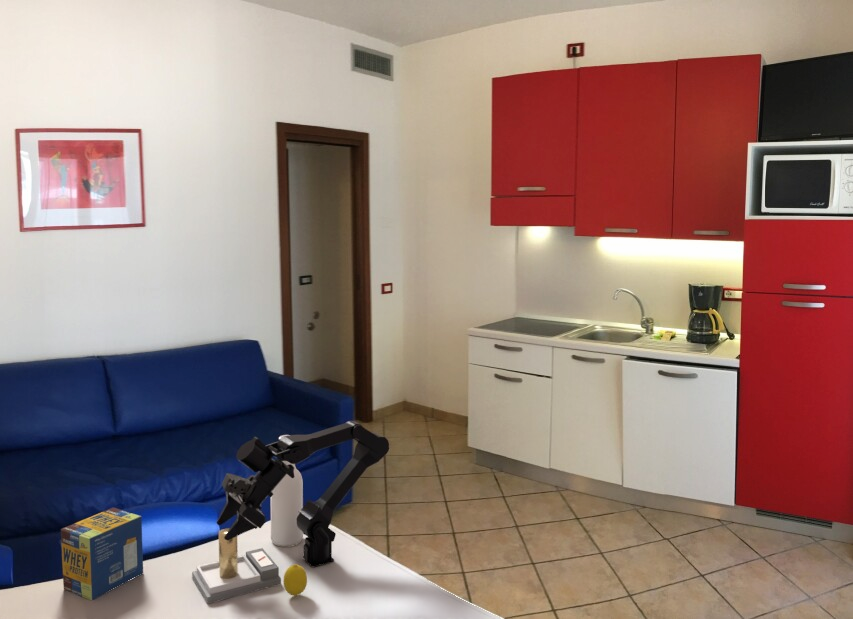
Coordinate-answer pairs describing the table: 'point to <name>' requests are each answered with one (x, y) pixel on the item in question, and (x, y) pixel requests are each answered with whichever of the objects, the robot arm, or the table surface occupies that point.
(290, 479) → the alcohol
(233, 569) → the cylinder
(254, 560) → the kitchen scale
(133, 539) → the protein box
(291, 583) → the lemon
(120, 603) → the table surface
